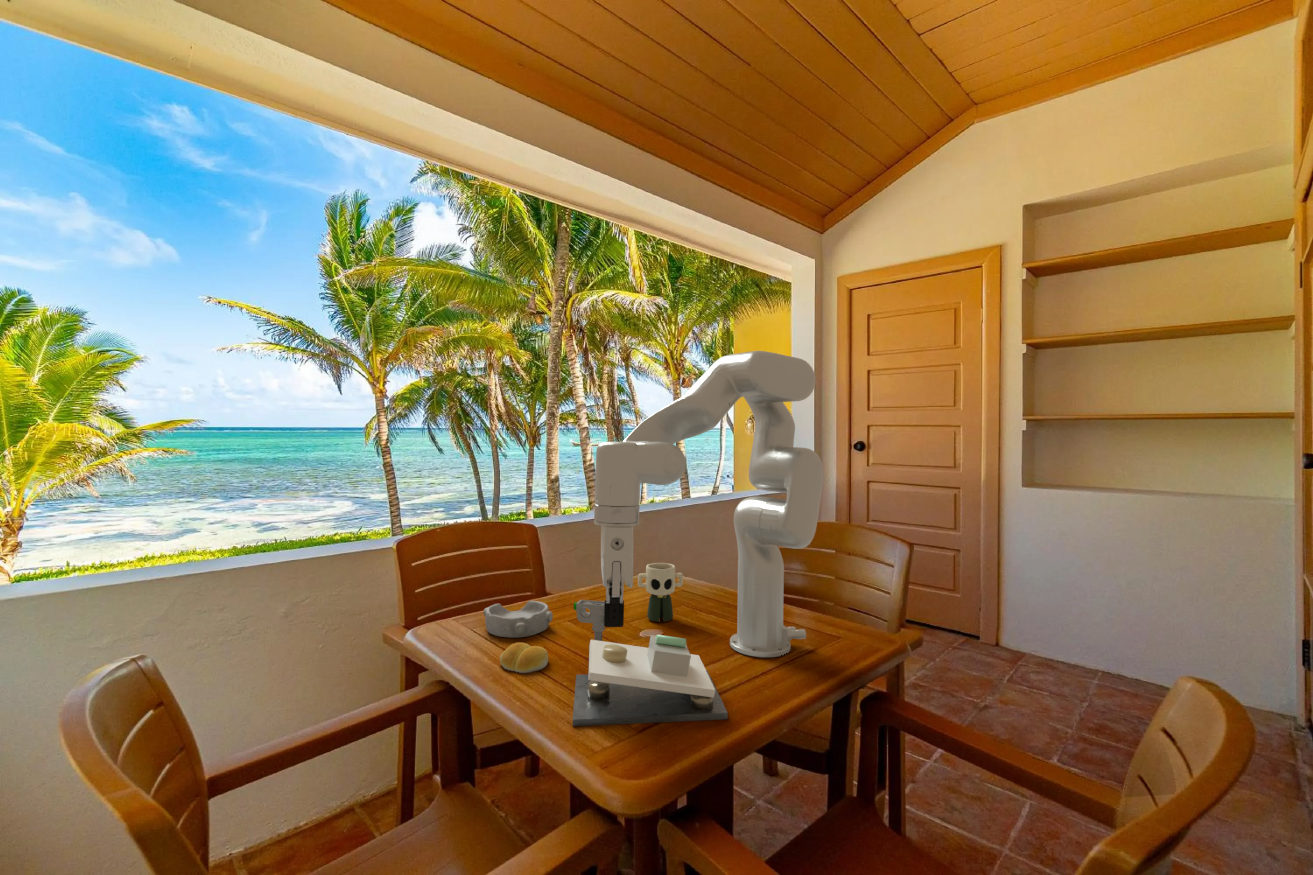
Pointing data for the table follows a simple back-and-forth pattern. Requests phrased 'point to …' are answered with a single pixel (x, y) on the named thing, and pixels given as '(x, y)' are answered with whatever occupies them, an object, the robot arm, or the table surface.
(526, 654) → the bread roll
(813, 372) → the robot arm
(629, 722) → the dark grey rectangular slab
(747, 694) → the table surface
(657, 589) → the character mug
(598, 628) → the mechanical component
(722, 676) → the table surface
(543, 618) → the dish
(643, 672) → the levelling plate
